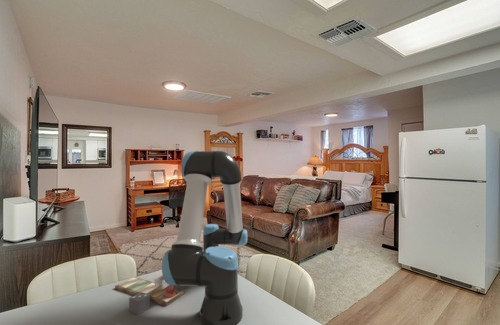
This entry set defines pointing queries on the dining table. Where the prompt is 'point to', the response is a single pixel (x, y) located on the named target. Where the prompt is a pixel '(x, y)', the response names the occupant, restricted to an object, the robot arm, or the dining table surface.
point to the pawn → (169, 291)
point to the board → (147, 290)
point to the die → (139, 303)
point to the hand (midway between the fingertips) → (159, 284)
